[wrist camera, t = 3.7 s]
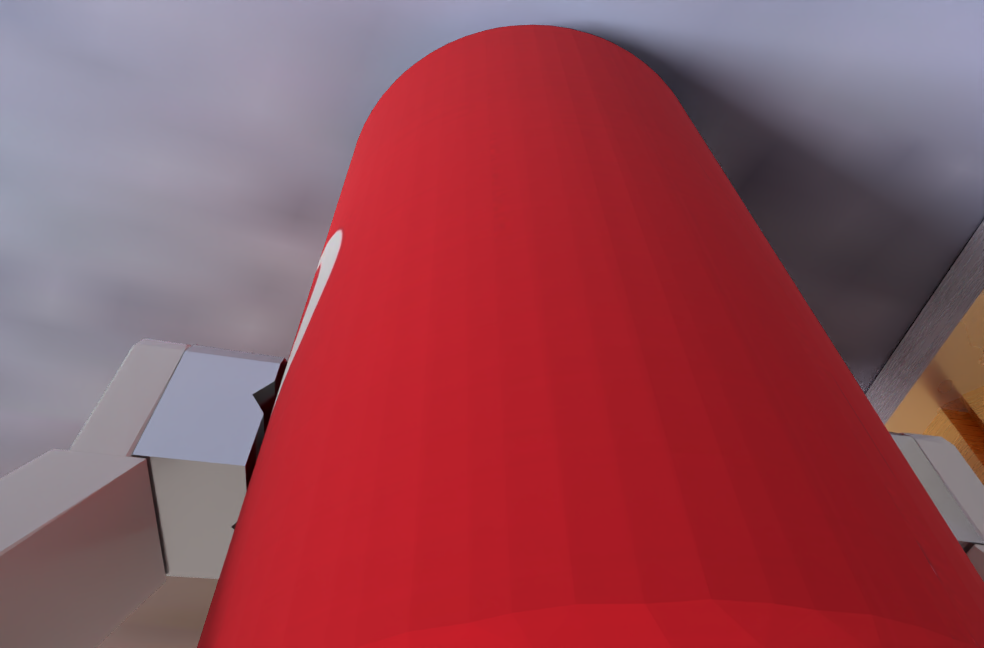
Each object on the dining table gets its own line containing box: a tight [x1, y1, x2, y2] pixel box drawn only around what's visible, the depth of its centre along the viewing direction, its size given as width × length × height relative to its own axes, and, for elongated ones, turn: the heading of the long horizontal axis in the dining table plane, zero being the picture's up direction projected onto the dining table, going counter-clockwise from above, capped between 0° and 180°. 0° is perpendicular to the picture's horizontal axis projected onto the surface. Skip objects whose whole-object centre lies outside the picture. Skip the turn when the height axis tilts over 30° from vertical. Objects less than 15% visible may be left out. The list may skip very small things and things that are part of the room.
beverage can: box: [197, 25, 984, 648], centre depth 9 cm, size 6×6×12 cm
